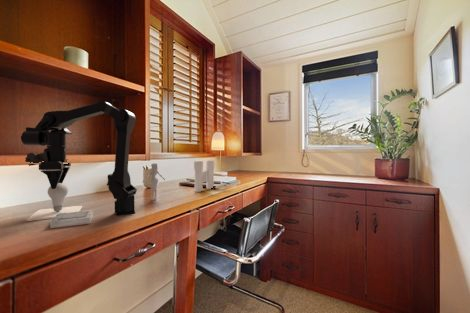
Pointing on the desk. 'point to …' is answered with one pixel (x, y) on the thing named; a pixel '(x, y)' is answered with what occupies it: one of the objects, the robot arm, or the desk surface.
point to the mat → (52, 213)
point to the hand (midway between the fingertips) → (56, 186)
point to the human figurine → (153, 179)
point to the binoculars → (204, 175)
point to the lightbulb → (58, 196)
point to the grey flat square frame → (68, 221)
